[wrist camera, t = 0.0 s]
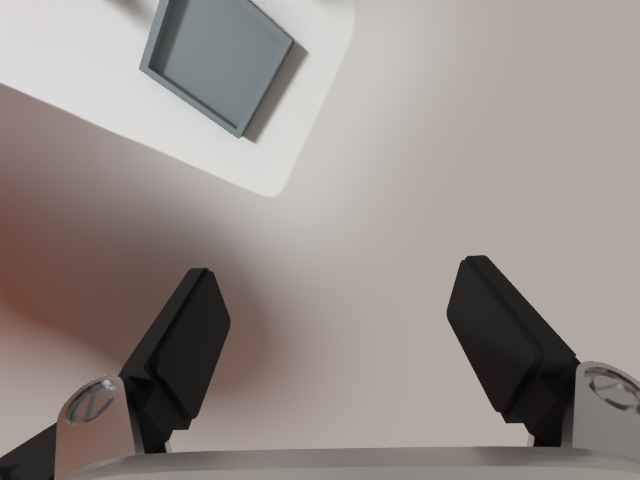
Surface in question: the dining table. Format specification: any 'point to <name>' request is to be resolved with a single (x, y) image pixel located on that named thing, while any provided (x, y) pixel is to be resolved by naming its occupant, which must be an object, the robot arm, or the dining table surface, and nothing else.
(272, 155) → the dining table surface
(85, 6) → the dining table surface
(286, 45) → the tray
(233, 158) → the dining table surface
